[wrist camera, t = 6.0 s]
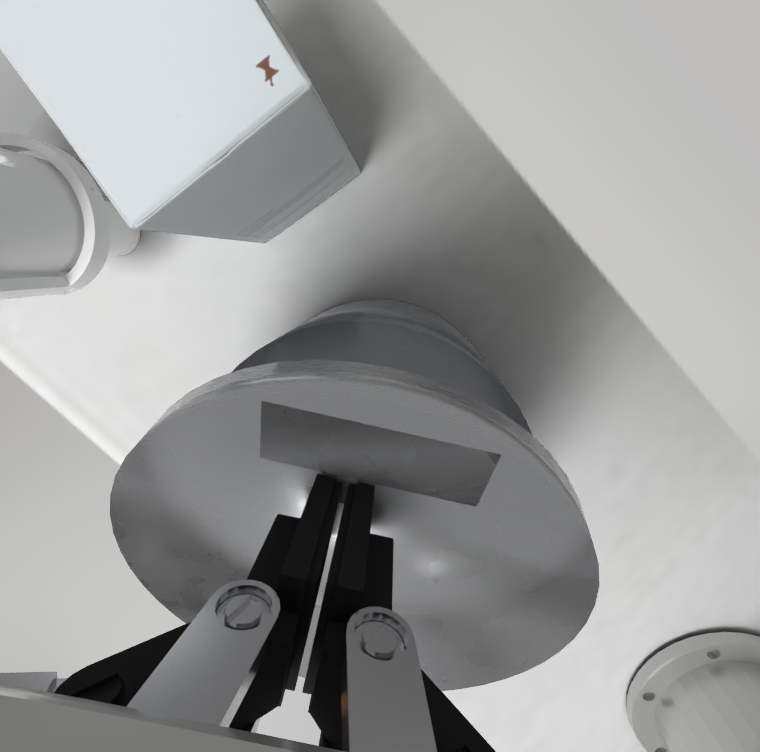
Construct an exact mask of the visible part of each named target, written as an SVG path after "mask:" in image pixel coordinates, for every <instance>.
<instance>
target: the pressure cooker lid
mask: <svg viewBox="0 0 760 752" xmlns="http://www.w3.org/2000/svg"><path fill="white" fill-rule="evenodd" d="M317 474H322V475H327V476H331V477H336V481H335V483H339V484H342V487H341V492H340V497H339V501H338V506H337V511H336V515H335V520H334V525H333V529H332V534H331V539H330V543H329V548H328V553H327V557H326V562H325V566H324V571H323V575H322V579H321V583H320V587H319V592H318V596H317V600H316V604H315V608H314V612H313V616H312V620H311V625H310V629H309V633H308V637H307V641H306V645H305V649H304V653H303V658H302V662H301V666H300V670H299V674H298V676H301V677H304V678H306V674H307V669H308V664H309V660H310V655H311V651H312V646H313V642H314V637H315V633H316V628H317V623H318V619H319V614H320V610H321V605H322V601H323V596H324V591H325V587H326V582H327V578H328V573H329V569H330V565H331V560H332V556H333V551H334V547H335V542H336V538H337V533H338V529H339V524H340V520H341V515H342V511H343V507H344V502H345V498H346V493H347V489H348V485H349V486H353V487H356V482H359V483H364V484H368V485H373V486H375V492H374V501H373V510H372V519H371V529H370V533H371V534H376V535H380V536H385V537H390V538H393V541H394V548H393V591H392V611H393V612H395V613H397V614H398V615H400V616H401V617H402V618H403V619H404V620H405V621H406V622H407V623H408V625H409V626H410V628H411V630H412V632H413V635H414V638H415V643H416V648H417V653H418V658H419V663H420V668H421V669H422V670H423V671H424V673H425V674H426V675H427V676H428V677H429V678H430V679H431V680H432V681H433V683H434V684H435V685H436V686H437V687H438V688H439V689H440V690H441V691H445V690H455V689H463V688H468V687H474V686H480V685H484V684H488V683H492V682H496V681H499V680H503V679H506V678H509V677H511V676H514V675H517V674H520V673H522V672H525V671H527V670H529V669H531V668H533V667H535V666H537V665H539V664H541V663H543V662H544V661H546V660H547V659H549V658H550V657H552V656H554V655H555V654H557V653H558V652H560V651H561V650H562V649H563V648H564V647H565V646H566V645H567V644H568V643H570V642H571V641H572V640H573V639H574V638H575V637H576V635H577V634H578V633H579V632H580V630H581V629H582V628H583V626H584V625H585V624H586V622H587V620H588V618H589V616H590V614H591V612H592V610H593V608H594V606H595V602H596V598H597V593H598V588H599V564H598V560H597V557H596V553H595V549H594V546H593V542H592V539H591V536H590V533H589V529H588V526H587V523H586V520H585V517H584V514H583V511H582V508H581V505H580V502H579V499H578V497H577V495H576V493H575V491H574V489H573V487H572V485H571V483H570V481H569V479H568V477H567V475H566V474H565V472H564V471H563V470H562V468H561V467H560V466H559V464H558V463H557V462H556V460H555V459H554V458H553V456H552V455H551V454H550V453H549V452H548V451H547V450H546V449H545V448H544V447H543V446H542V445H541V444H540V443H539V442H538V441H537V440H536V439H535V438H534V437H533V436H532V435H531V434H530V433H529V432H528V431H526V430H525V429H524V428H522V427H521V426H520V425H518V424H517V423H515V422H514V421H513V420H511V419H510V418H509V417H507V416H506V415H505V414H503V413H502V412H500V411H499V410H497V409H495V408H493V407H492V406H490V405H488V404H486V403H484V402H482V401H481V400H479V399H477V398H475V397H473V396H472V395H470V394H468V393H466V392H463V391H461V390H458V389H456V388H453V387H451V386H448V385H446V384H444V383H441V382H439V381H436V380H434V379H431V378H427V377H424V376H420V375H417V374H413V373H410V372H406V371H403V370H399V369H396V368H391V367H385V366H379V365H373V364H367V363H361V362H355V361H337V360H318V359H314V360H298V361H282V362H275V363H270V364H264V365H259V366H254V367H249V368H244V369H241V370H238V371H235V372H232V373H229V374H226V375H224V376H221V377H218V378H215V379H213V380H211V381H209V382H207V383H205V384H203V385H202V386H200V387H198V388H196V389H194V390H192V391H190V392H189V393H188V394H186V395H185V396H184V397H182V398H181V399H180V400H178V401H177V402H176V403H174V404H173V405H172V406H170V408H169V409H168V410H167V411H166V412H165V413H164V414H163V415H162V417H161V418H160V419H159V420H158V421H157V422H156V423H155V424H154V426H153V427H152V428H151V429H150V430H149V431H148V432H147V434H146V435H145V436H144V437H143V438H142V439H141V440H140V441H139V443H138V444H137V445H136V446H135V447H134V448H133V449H132V451H131V452H130V453H129V454H128V455H127V456H126V458H125V459H124V461H123V463H122V465H121V467H120V469H119V470H118V472H117V474H116V476H115V480H114V484H113V487H112V492H111V497H110V498H111V499H110V516H111V522H112V527H113V533H114V535H115V538H116V541H117V543H118V546H119V548H120V551H121V553H122V554H123V556H124V558H125V560H126V561H127V563H128V565H129V567H130V569H131V570H132V571H133V572H134V574H135V575H136V576H137V578H138V579H139V580H140V582H141V583H142V584H143V585H144V587H145V588H147V590H148V591H149V592H150V593H151V594H152V595H153V596H154V597H155V598H156V599H157V600H158V601H159V602H160V603H161V604H163V605H164V606H165V607H166V608H167V609H168V610H169V611H171V612H172V613H173V614H174V615H175V616H177V617H178V618H179V619H181V620H182V621H184V622H185V623H186V624H187V623H190V622H192V621H193V620H194V618H195V617H196V616H197V615H198V613H199V612H200V611H201V609H202V608H203V607H204V605H205V604H206V603H207V602H208V600H209V599H210V598H211V596H212V595H213V594H214V593H215V592H216V591H217V590H218V589H219V588H221V587H223V586H224V585H226V584H228V583H231V582H234V581H238V580H247V577H248V575H249V573H250V571H251V569H252V567H253V565H254V563H255V560H256V558H257V556H258V554H259V552H260V550H261V548H262V546H263V544H264V541H265V539H266V537H267V535H268V533H269V531H270V529H271V527H272V524H273V522H274V520H275V518H276V516H277V515H278V514H282V515H287V516H292V517H296V518H301V515H302V513H303V510H304V507H305V505H306V502H307V499H308V497H309V494H310V492H311V489H312V486H313V484H314V481H315V478H316V476H317Z"/></svg>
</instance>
